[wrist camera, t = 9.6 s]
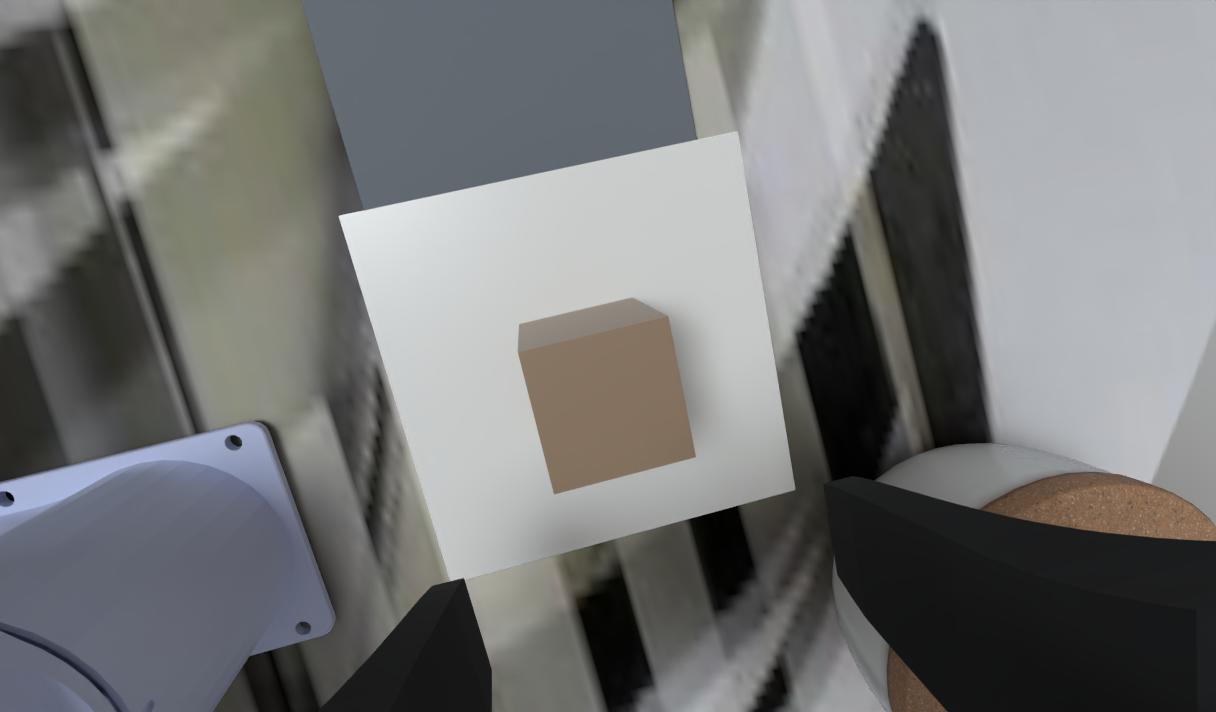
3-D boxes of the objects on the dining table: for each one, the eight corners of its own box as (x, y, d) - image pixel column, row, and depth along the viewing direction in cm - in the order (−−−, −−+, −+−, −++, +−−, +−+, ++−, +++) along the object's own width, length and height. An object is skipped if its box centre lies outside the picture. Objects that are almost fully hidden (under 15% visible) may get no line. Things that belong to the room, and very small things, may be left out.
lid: (454, 568, 17) (428, 689, 13) (348, 217, 15) (270, 207, 11) (783, 479, 18) (873, 561, 14) (727, 136, 16) (810, 94, 11)
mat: (373, 233, 20) (370, 232, 19) (257, -153, 17) (253, -160, 17) (697, 161, 21) (700, 160, 20) (630, -213, 18) (632, -220, 18)
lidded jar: (806, 399, 23) (996, 505, 14) (1056, 412, 24) (1374, 516, 15) (768, 654, 25) (912, 897, 16) (1002, 650, 26) (1257, 868, 17)
